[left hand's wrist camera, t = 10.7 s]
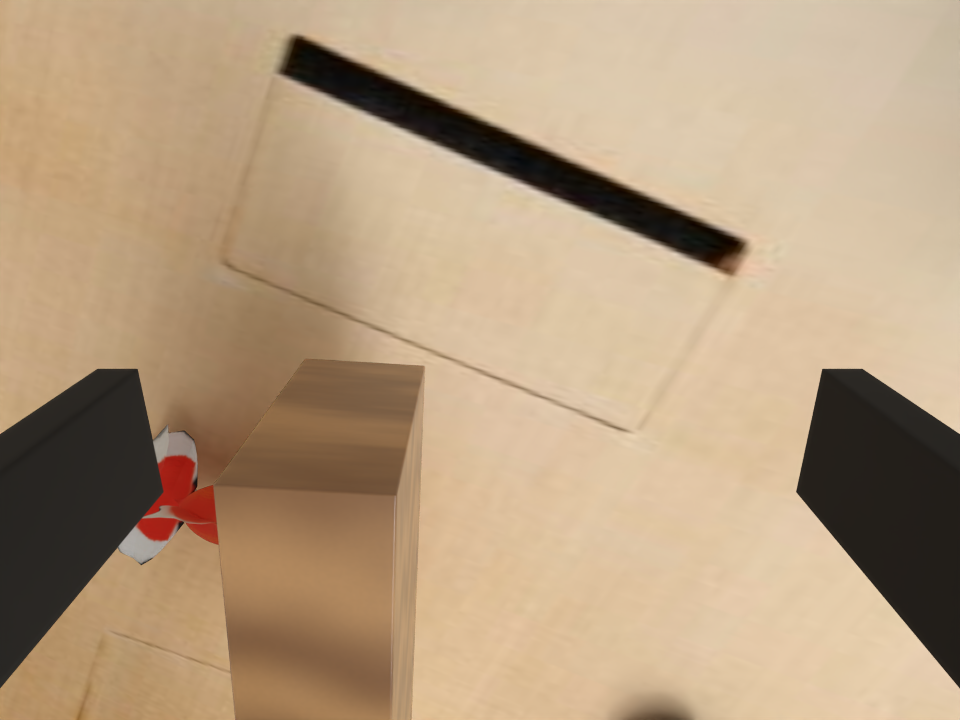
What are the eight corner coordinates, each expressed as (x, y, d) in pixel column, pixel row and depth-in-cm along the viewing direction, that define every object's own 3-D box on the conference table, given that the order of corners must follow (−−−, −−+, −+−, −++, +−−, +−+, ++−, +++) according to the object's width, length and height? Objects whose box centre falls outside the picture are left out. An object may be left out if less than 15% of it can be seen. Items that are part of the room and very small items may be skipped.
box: (304, 358, 33) (211, 484, 21) (425, 365, 33) (397, 495, 21) (316, 725, 42) (256, 952, 30) (411, 729, 42) (386, 957, 30)
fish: (256, 622, 48) (169, 663, 38) (120, 499, 52) (9, 508, 42) (337, 505, 48) (270, 516, 39) (195, 391, 52) (102, 375, 42)
